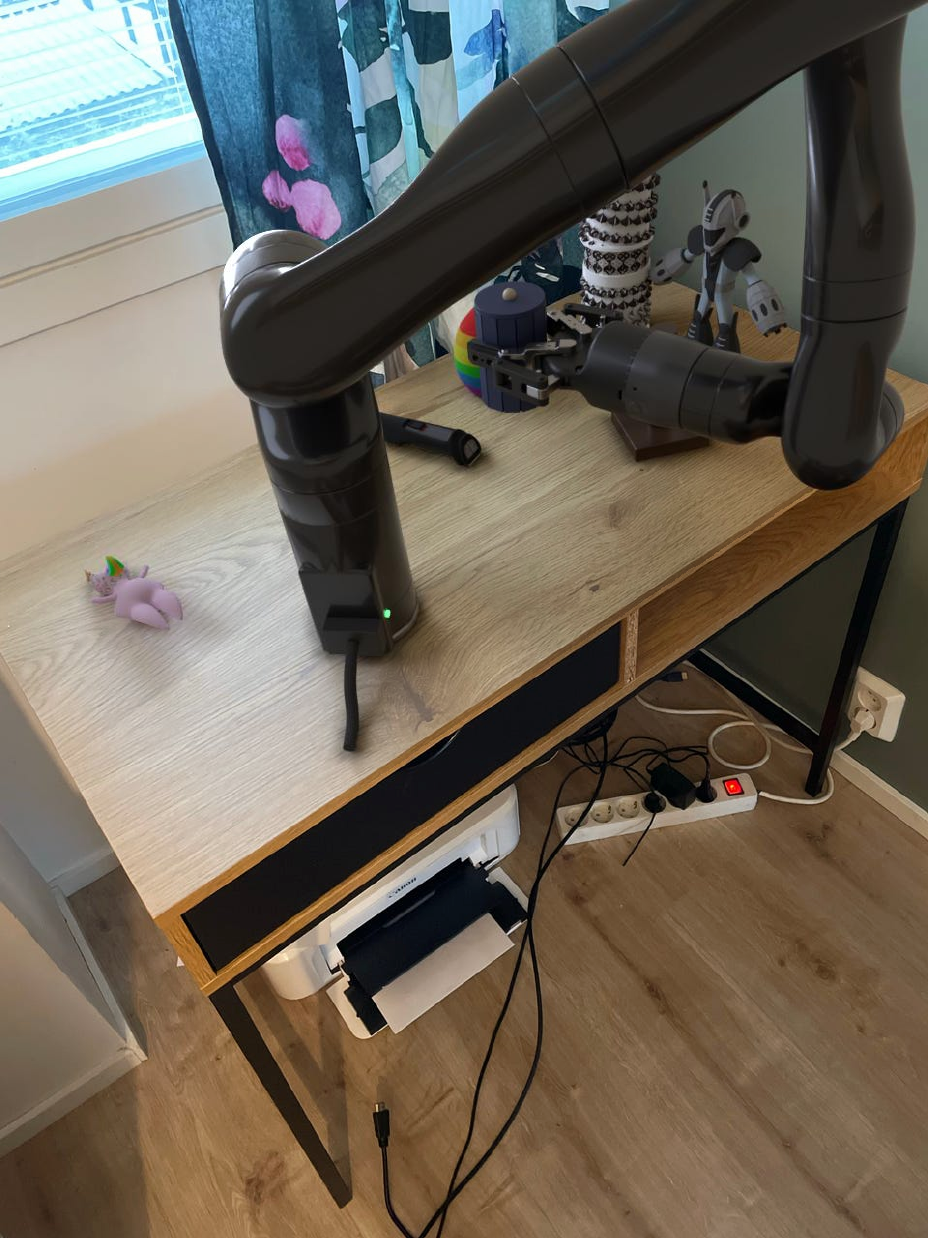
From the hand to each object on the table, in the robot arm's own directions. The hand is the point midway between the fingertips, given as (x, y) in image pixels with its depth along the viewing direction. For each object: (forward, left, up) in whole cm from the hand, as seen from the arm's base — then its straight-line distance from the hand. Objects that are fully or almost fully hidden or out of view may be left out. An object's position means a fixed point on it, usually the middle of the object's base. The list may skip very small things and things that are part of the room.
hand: (491, 332), depth 84 cm
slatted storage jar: (-1, -2, -6) cm, 6 cm away
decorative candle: (+27, -11, -15) cm, 33 cm away
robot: (+19, -22, -15) cm, 33 cm away
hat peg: (+5, -16, -15) cm, 22 cm away
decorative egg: (+15, +3, -15) cm, 21 cm away
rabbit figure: (-23, +32, -15) cm, 42 cm away
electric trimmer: (+3, +10, -15) cm, 18 cm away
